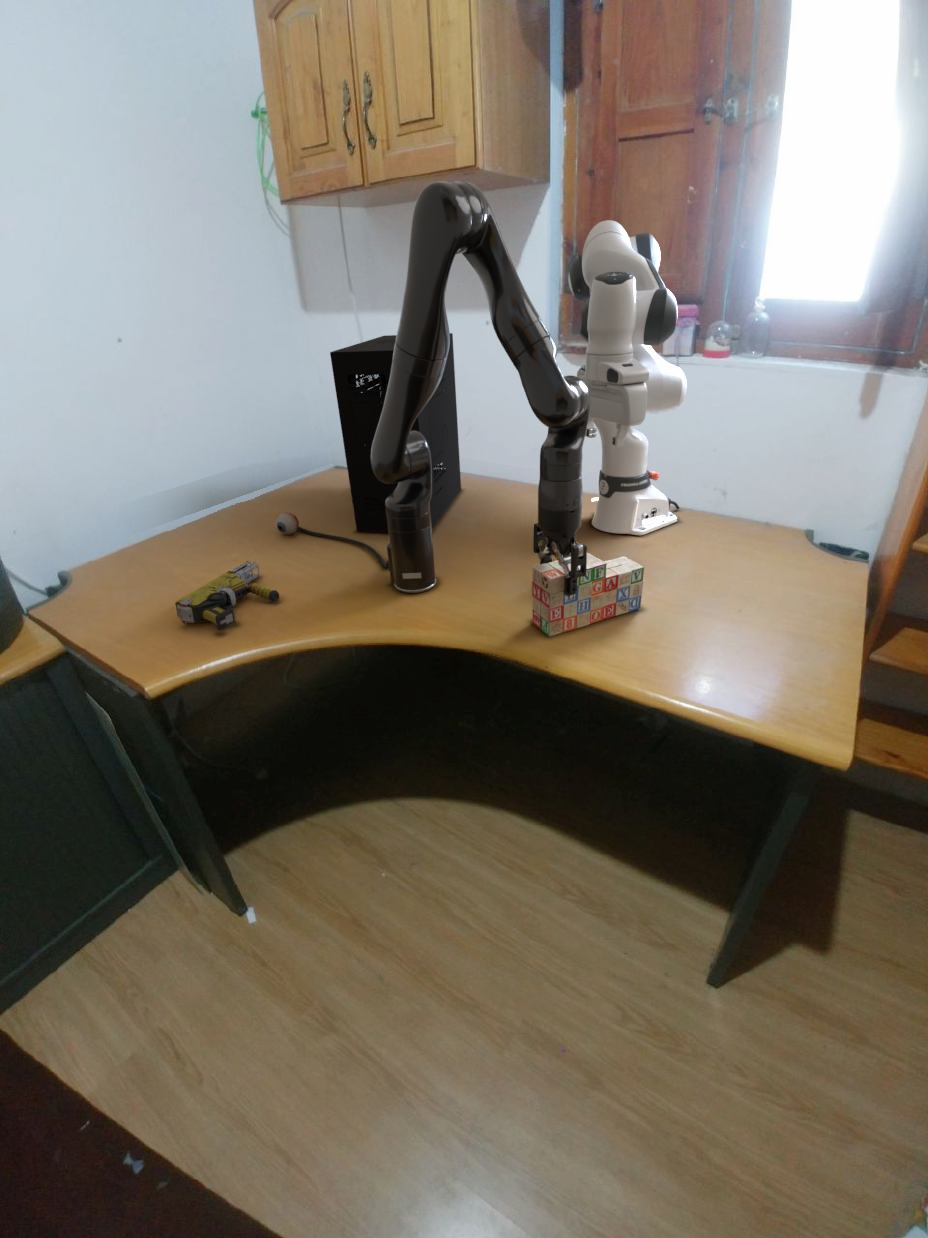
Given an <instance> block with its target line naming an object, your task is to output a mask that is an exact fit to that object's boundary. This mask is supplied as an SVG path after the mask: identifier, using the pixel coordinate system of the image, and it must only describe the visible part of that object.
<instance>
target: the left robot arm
mask: <svg viewBox="0 0 928 1238" xmlns="http://www.w3.org/2000/svg"><path fill="white" fill-rule="evenodd" d="M410 227H411V228H410V235H409V236H410V237H409V247H408V248H409V249H408V259H407V260H408V261H407V271H406V279H405V287H404V292H403V297H402V304H401V310H400V317H399V323H398V327H397V332H396V335H397V336H396V341H395V346H394V352H393V357H392V364H391V371H390V377H389V382H388V386H387V391H386V396H385V400H384V405H383V409H382V413H381V416H380V420H379V423H378V426H377V429H376V433H375V436H374V440H373V443H372V448H371V465H372V469H373V472H374V474H375V476H376V477H377V479H378V480H379V481H381V482H383V483H385V484H394V483H398V485H397V487H396V488H395V490H394V491H393V492H392V493H391V494H390V495H389V496H388V497H387V498H386V501H385V508H386V516H387V524H388V532H389V533H388V540H389V543H388V544H387V545H386V551H387V561H386V562H385V560H384V558H383V557H382V556H381V554H379V552H377V550H375V548H373V547H372V546H370V545H368V544H367V543H364V542H362V541H360V540H355V539H352V538H349V537H343V536H338V535H334V534H328V533H322V532H317V531H313V530H309V529H306V528H303V527H301V526H299V527H298V529H297V531H301V532H303V533H306V534H309V535H313V536H317V537H323V538H328V539H333V540H338V541H344V542H346V543H347V542H348V543H351V544H355V545H358V546H360V547H363V548H365V549H366V550H368V551H370V552H371V553H372V554H373V555H374V556H375V557H376V559H378V560H379V562H380V563H381V565H382V566H383V568H384V569H387V570H388V572H389V576H390V583H391V585H392V586H394V588H395V589H396V590H397V591H399V592H401V593H405V594H418V593H424V592H427V591H429V590H431V589H433V588H434V587H435V586H436V585H437V577H436V564H435V563H436V562H435V553H434V541H433V529H432V527H431V516H430V500H431V497H432V467H431V454H430V449H429V446H428V443H427V441H426V439H425V438H424V436H423V435H422V434H421V433H420V432H418V431H416V430H411V428H412V426H413V424H414V422H415V420H416V418H417V417H418V415H419V414H420V412H421V411H422V409H423V408H424V407H425V405H426V404H427V402H428V401H429V400H430V398H431V397H432V395H433V394H434V392H435V390H436V389H437V387H438V385H439V383H440V381H441V378H442V375H443V372H444V368H445V364H446V360H447V356H448V351H449V345H450V327H449V325H450V324H449V320H448V315H447V310H446V309H447V308H446V293H447V285H448V283H449V277H450V274H451V270H452V266H453V263H454V260H455V257H456V255H462V256H463V257H464V258H465V259H466V261H467V262H468V263H469V265H470V266H471V267H472V268H473V270H474V272H475V273H476V275H477V276H478V279H479V281H480V283H481V285H482V289H483V291H484V295H485V297H486V302H487V306H488V312H489V317H490V320H491V325H492V327H493V330H494V333H495V335H496V337H497V339H498V340H499V342H500V345H501V346H502V348H503V350H504V351H505V353H506V355H507V357H508V358H509V360H510V362H511V363H512V365H513V366H514V368H515V369H516V371H517V373H518V375H519V378H520V382H521V386H522V388H523V391H524V393H525V396H526V399H527V402H528V404H529V407H530V409H531V411H532V412H533V414H534V416H535V417H536V419H538V421H539V422H540V423H541V424H542V425H544V426H545V427H546V428H547V434H546V438H545V440H544V441H543V442H542V444H541V447H540V451H539V481H538V489H537V523H536V522H535V523H534V524H533V538H532V544H533V545H532V549H533V553H534V554H537V558H538V560H539V565H541V564H545V563H549V562H553V558H552V557H553V556H554V558H556V559H557V560H558V563H559V565H560V566H561V567H563V570H564V574H565V578H564V594H565V595H566V596H571V595H574V594H576V592H577V578H579V577H582V576H586V565H587V552H588V546H587V543H580V544H579V542H577V539H576V533H577V531H578V530H579V529H580V528H581V526H582V513H583V511H582V510H583V479H582V478H583V477H582V473H583V446H584V442H585V438H586V436H585V434H586V429H587V424H588V418H589V412H590V395H589V391H588V388H587V386H586V384H585V383H584V382H583V381H582V380H581V379H580V378H578V377H577V375H564V376H563V374H562V371H561V369H560V368H559V365H558V363H557V361H556V358H557V356H558V348H557V347H558V346H557V344H556V343H555V341H554V338H553V337H552V336H551V333H550V332H549V330H548V328H547V326H546V324H545V323H544V322H543V320H542V318H541V316H540V315H539V313H538V311H537V309H536V308H535V306H534V305H533V302H532V301H531V299H530V297H529V295H528V293H527V291H526V289H525V287H524V285H523V283H522V280H521V279H520V276H519V274H518V272H517V269H516V267H515V264H514V262H513V261H512V257H511V255H510V252H509V250H508V247H507V245H506V243H505V241H504V239H503V236H502V233H501V230H500V228H499V225H498V223H497V220H496V218H495V215H494V213H493V210H492V208H491V205H490V203H489V201H488V199H487V197H486V196H485V194H484V192H483V191H482V190H481V188H480V187H479V186H478V185H476V184H475V183H473V182H471V181H470V182H469V181H466V180H440V181H439V180H438V181H433V182H431V183H429V184H427V185H426V186H424V187H423V188H422V190H421V191H420V192H419V194H418V196H417V199H416V200H415V204H414V207H413V212H412V218H411V225H410ZM540 543H541V544H540ZM539 544H540V545H539ZM570 555H571V559H568V560H564V559H563V558H566V557H569V556H570ZM568 564H571V571H570V570H569V567H568ZM579 565H580V570H579V567H578V566H579Z"/></svg>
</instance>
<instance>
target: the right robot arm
mask: <svg viewBox="0 0 928 1238" xmlns="http://www.w3.org/2000/svg"><path fill="white" fill-rule="evenodd" d="M660 264H661V249H660V246H659V243H658V242H657V240H656V239H655V237H654V235H653V234H651V233H650V232H641V233H636V234H635V236H629V235H628V233H627V231H626V229H625V228H624V227H623V225H621V223H619V222H618V221H615V220H612V219H607V220H603V221H602V220H601V221H600V222H598V223H596V224H595V225H594V226H593V227H592V228H591V230H590V231H589V233H588V234H587V237H586V238H585V241H584V245H583V249H582V253H579V254H578V255H577V257H576V258H575V259H574V260H573V261H572V262H571V264H570V266H569V267H568V276H567V277H568V278H567V280H568V286H569V290H570V292H571V293H572V295H573V297H574V298H575V300H576V301H578V302H579V303H582V305H581V306H580V312H581V313H580V315H581V317H580V332H579V337H581V338H582V340H584V341H585V342H586V343H587V346H586V350H585V364H584V365H581V366H580V367H579V369H578V370H577V372H576V377H578V378H580V379H581V380H582V381H583V382H584V383H585V384H586V386H587V388H588V391H589V395H590V412H589V418H588V424H587V429H586V434H585V438H589V439H593V438H596V437H597V431H598V434H599V436H600V437H599V438H600V443H601V468H600V470H599V474H598V492H599V493H598V496H597V497H592V498H591V502H596V501H597V502H596V507H595V511H594V514H593V517H592V520H591V525H592V526H593V527H594V528H595V529H597V530H599V531H601V532H605V533H611V534H623V535H625V534H626V535H632V536H633V535H634V536H645V535H646V534H650V533H652V532H654V531H657V530H660V529H662V528H665V527H668V526H670V525H672V524H675V523H677V522H678V516H677V515H676V514H675V513H674V512H672V511H670V509H671V505H673V506H674V507H675V509H676V510H679V509H680V506H679V505H678V503H677V502H675V500H671V498H669V497H667V496H666V495H665V494H664V493H663V492H661V491H660V490H659V489H658V488H656V487H655V486H654V485H652V483H651V480H653V481H658V479H659V478H660V473H659V472H657V471H654V470H651V471H649V470H648V469H647V466H648V458H649V457H648V455H649V447H650V443H649V440H648V437H646V435H645V434H644V433H643V432H641V431H639V430H638V429H636V428H634V426H635V427H636V426H641V425H642V424H643V423H644V421H645V418H646V415H658V414H663V413H668V412H671V411H674V410H677V409H678V408H680V406H681V405H682V403H683V402H684V400H685V398H686V395H687V391H688V380H687V378H686V375H685V373H684V371H683V370H682V369H681V368H680V367H679V366H676V365H674V364H672V363H670V362H668V361H666V360H665V359H664V358H662V357H661V356H660V355H659V354H658V353H657V352H656V351H655V350H654V348H653V347H659V346H661V345H662V344H664V343H665V342H666V341H667V340H669V338H671V336H672V335H674V333H675V330H676V327H677V323H678V317H679V315H678V313H679V310H678V303H677V298H676V297H675V295H674V293H672V291H670V290H669V289H668V288H667V287H666V285H665V283H664V281H663V280H662V278H661V276H660V274H659V270H660V269H659V268H660Z"/></svg>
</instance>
